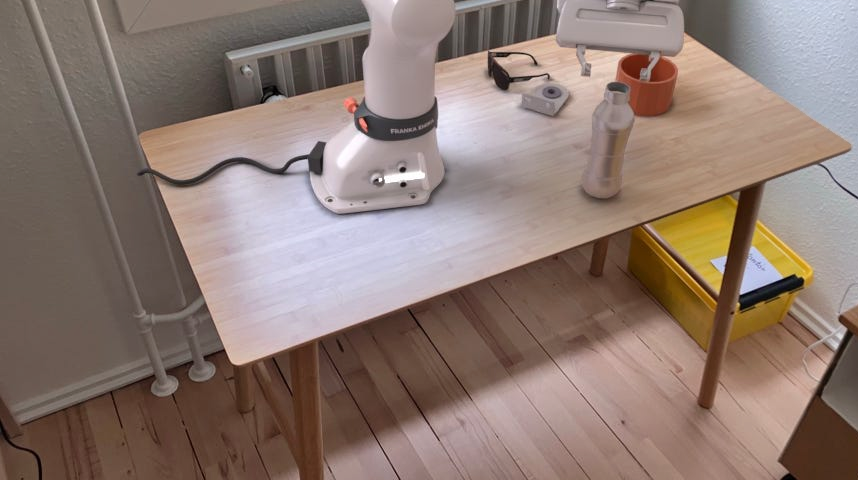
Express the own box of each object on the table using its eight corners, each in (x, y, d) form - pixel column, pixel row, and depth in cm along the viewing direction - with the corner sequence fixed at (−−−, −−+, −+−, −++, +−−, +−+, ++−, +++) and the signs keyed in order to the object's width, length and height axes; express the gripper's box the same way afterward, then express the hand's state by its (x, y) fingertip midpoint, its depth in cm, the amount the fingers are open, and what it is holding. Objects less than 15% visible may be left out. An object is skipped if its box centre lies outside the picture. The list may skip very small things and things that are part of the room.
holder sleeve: (632, 120, 156) (638, 88, 151) (602, 90, 163) (607, 58, 158) (682, 109, 160) (689, 76, 155) (650, 80, 167) (656, 48, 162)
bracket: (573, 93, 162) (575, 77, 160) (552, 118, 156) (554, 102, 153) (542, 83, 164) (544, 68, 162) (520, 108, 158) (522, 92, 155)
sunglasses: (478, 69, 167) (481, 46, 164) (530, 65, 172) (535, 43, 169) (499, 95, 160) (504, 72, 157) (553, 91, 165) (559, 68, 162)
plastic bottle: (580, 177, 143) (596, 74, 129) (620, 182, 142) (640, 79, 128) (578, 201, 138) (594, 96, 124) (619, 205, 138) (640, 101, 124)
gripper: (559, -20, 131) (550, 67, 131) (690, -9, 130) (682, 78, 130) (558, -6, 137) (549, 77, 137) (682, 5, 136) (674, 88, 136)
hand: (615, 78), depth 133 cm, fingers open, 8 cm apart
